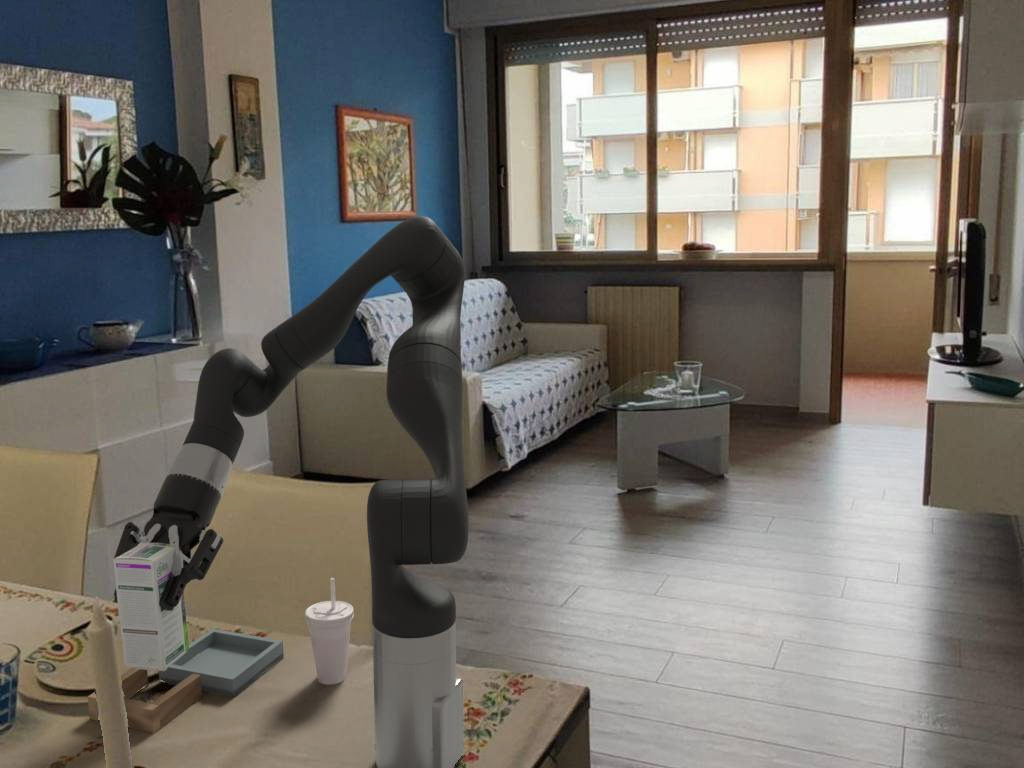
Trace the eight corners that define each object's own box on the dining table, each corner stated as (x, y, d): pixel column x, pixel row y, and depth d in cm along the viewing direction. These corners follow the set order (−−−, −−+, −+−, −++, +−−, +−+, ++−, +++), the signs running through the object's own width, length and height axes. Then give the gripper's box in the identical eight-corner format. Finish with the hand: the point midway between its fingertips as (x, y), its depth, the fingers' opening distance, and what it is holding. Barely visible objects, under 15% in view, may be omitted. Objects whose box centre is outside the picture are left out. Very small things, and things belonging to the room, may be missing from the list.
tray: (283, 657, 135) (282, 640, 135) (234, 697, 124) (232, 679, 124) (213, 644, 139) (212, 628, 138) (159, 682, 128) (158, 664, 128)
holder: (201, 696, 125) (200, 675, 124) (153, 733, 116) (152, 710, 116) (140, 684, 128) (139, 663, 127) (89, 719, 119) (87, 696, 119)
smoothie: (360, 684, 128) (357, 584, 125) (311, 693, 125) (307, 591, 123) (350, 663, 134) (347, 567, 131) (303, 671, 131) (299, 573, 129)
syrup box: (165, 672, 119) (155, 560, 116) (122, 667, 120) (112, 556, 117) (190, 651, 124) (181, 543, 121) (148, 647, 125) (139, 540, 123)
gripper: (254, 502, 128) (206, 623, 119) (164, 495, 133) (112, 611, 124) (226, 474, 123) (174, 599, 114) (134, 468, 127) (77, 588, 118)
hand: (142, 605), depth 119 cm, fingers closed on syrup box, 6 cm apart
